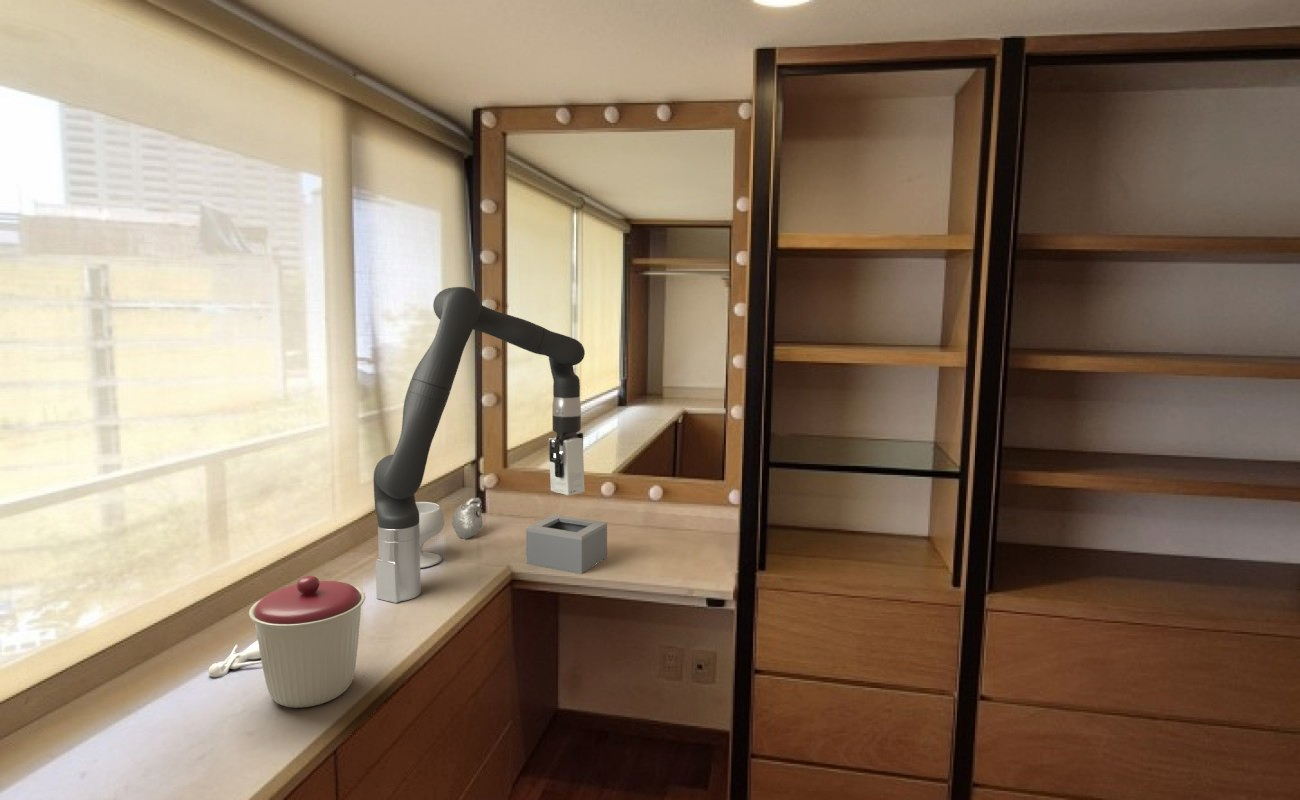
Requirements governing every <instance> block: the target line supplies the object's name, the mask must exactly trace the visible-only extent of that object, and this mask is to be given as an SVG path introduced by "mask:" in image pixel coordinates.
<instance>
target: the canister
mask: <svg viewBox="0 0 1300 800" xmlns="http://www.w3.org/2000/svg"><path fill="white" fill-rule="evenodd" d="M365 600H366V593H365V592H364V591H363V589H361V588H359V587H358V586H354V585H351V584H350V583H347V582H343V581H336V580H319V578H317V577H316V576H314V575H305V576H303V577H300V579H298V580H297V583H295V584H291V585H288V586H285V587H281V588H279V589H277V590H274V591H271V592H270V593H268V594H266V595H265V596H264V597H262V598H260V599H259V600H257V601H255V603H254V604H253V605H251V607H250V609H249V611H248V617H249V618H250V620H251V621H253V623H254V626H255V633H256V639H257V640H258V645H259V650H260V656H261V658H260V661H262V663H261V667H262V670H263V675H264V679H265V684H266V688H267V691H268V694H269V695H270V697H271V699H272V700H273V701H274V702H275V703H276V704H279V705H281V706H284V707H287V708H295V709H297V708H301V709H303V708H311V707H315V706H319V705H322V704H325V703H327V702H330V701H333V700H334V699H336V698H338V697H340V696H341V695H342V694H343V693H345V691H347V690H348V688H349V687H350V685H352V683H353V679H354V678H355V672H356V664H357V656H358V648H359V646H358V645H359V636H360V627H361V625H360V623H361V613H362V612H361V611H362V605H363V604H364V603H365Z"/></svg>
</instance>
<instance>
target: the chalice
mask: <svg viewBox="0 0 1300 800" xmlns="http://www.w3.org/2000/svg"><path fill="white" fill-rule="evenodd" d="M415 502H416V506H417V508H418V511H419V528H420V569H422V568H428V567H432V566H435V565H437V564H439V563H440V562H441V561H442V560H443V559H442V556H441V555H439V554H437V553H434V552H425V551H424V552H423V550H422V548H423V546H424V544H425V543H426V542H427V541H429V540H430V539H432V538H433V537H435V536H437V535H438V534H440V533H441V531H442V530H443V529H444V527H445V517H444V513H443V510H442V507H441V506H440V505H439V504H437V503H434V502H431V501H430V502H429V501H415Z"/></svg>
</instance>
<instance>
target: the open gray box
mask: <svg viewBox="0 0 1300 800" xmlns="http://www.w3.org/2000/svg"><path fill="white" fill-rule="evenodd" d="M525 529H526V530H525V533H526V534H525V535H526V537H525V538H526V544H525V545H526V549H525V550H526V551H525V553H526V554H525V555H526V558H525V560H526V563H527V565H532V566H537V567H543V568H547V569H553V570H558V571H563V572H568V573H569V572H570V573H574V574H579V575H583V574H584V573H586V572H587V571H588V570H590V569H591V567H592V566H593V567H595V566H596V565H597V564H596V563H598V562H599V563H601V562H602V561H604V560H605V559H607V558H606V557H608V556H607V555H608V522H606V521H599V520H593V519H588V518H582V517H580V518H579V517H573V516H567V515H566V516H565V515H559V514H552V515H550V516H548V517H546V518H544V519H541V520H539V521H537V522H536V523H533V524H531V525H528V526H527V527H526V528H525ZM604 558H605V559H604ZM603 559H604V560H603ZM601 560H602V561H601ZM600 561H601V562H600ZM599 563H598V564H599ZM595 564H596V565H595ZM594 565H595V566H594ZM593 567H592V568H593ZM589 568H590V569H589Z"/></svg>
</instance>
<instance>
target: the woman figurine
mask: <svg viewBox="0 0 1300 800" xmlns="http://www.w3.org/2000/svg"><path fill="white" fill-rule="evenodd" d="M234 645H235V646H234V647H233V649H232V651H231V653H230V654H229V655H228V657H227V658H226V659H225V660H224V661H219V662H216V663H212V665H210V667H208V675H209V676H210V677H212V678H221V677H223V676H225V675H227V674H228V673H229V671H230V669H231V670H237V669H239V668H242V667H247V666H253V665H255V666H256V665H259V664H262V661H261V660H258V659H261V656H260V650H259V645H258V639H257V640H256V641H255V642H253V643H252V644H250V645H249V646H248V647H247V648H246V649H245V650H244V651H243V652H238V653H237V651H236V650H237V648H238V644H234ZM245 660H255V661H245ZM257 660H258V661H257Z"/></svg>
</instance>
